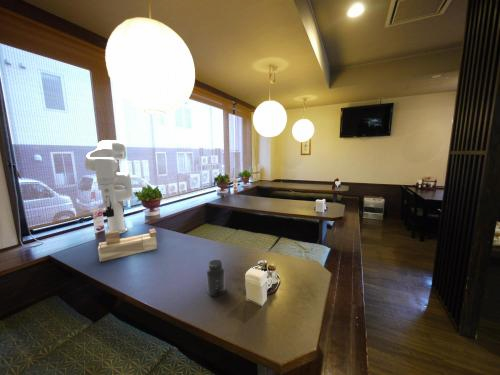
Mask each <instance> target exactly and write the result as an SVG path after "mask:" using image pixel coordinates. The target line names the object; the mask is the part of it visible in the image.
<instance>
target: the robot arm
mask: <svg viewBox="0 0 500 375" xmlns="http://www.w3.org/2000/svg"><path fill="white" fill-rule="evenodd" d="M126 158H127V147H126V144H125V143H124V142H123V141H122V140H118V139H117V140H109V139H107V140H106V139H105V140H101V141H99V142H98V144H97V148H95V150H93V151H89V152H88V153H86V156H85V159H84V167H85V169H86V170H87V171H88V172H90V173H91V172H92V173H94V172H95V175H96V184H97V186H100V191H101V198H102V203H103V204H104V205H105V214H106V218H107V224H108V230H107V232H111V231H117V230H119V235H121V234H124V233H127V231H128V228H127V227H125V219H124V210H123V206H122V205H121V204H120V203H119V202H127V201H131V200H132V199H133V188H132V178H131V176H130V173H128V172H119V171H118V168H119V162H118V160H125V159H126ZM115 187H116V188H115Z"/></svg>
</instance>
